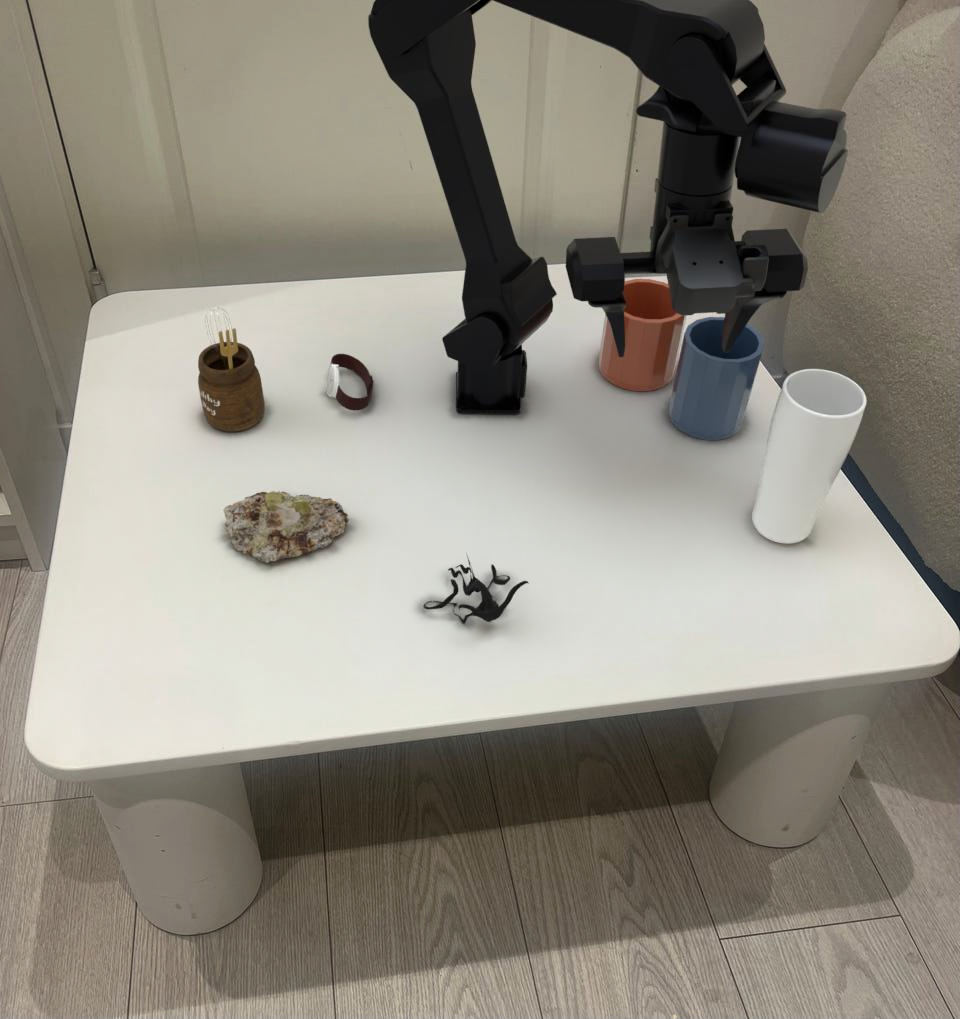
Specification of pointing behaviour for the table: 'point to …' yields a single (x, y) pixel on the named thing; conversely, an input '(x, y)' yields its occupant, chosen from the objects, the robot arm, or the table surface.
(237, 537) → the mineral rock
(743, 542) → the table surface
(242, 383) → the utensil holder
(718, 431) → the blue tumbler
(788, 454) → the drinking glass
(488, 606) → the creature
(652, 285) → the terracotta cup
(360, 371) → the watch
